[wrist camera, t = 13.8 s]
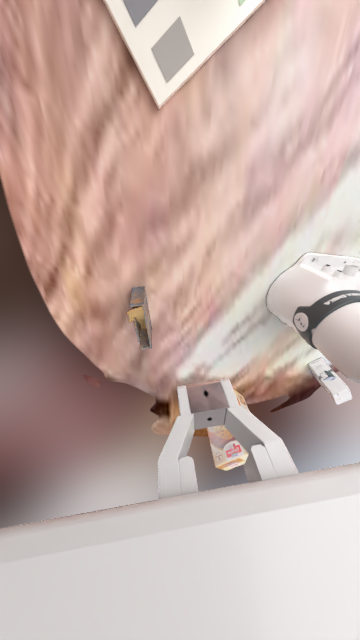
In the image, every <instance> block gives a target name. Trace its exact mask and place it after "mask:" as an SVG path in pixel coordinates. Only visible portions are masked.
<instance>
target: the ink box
mask: <svg viewBox="0 0 360 640" xmlns="http://www.w3.org/2000/svg"><path fill="white" fill-rule="evenodd" d="M308 366H309V368H310V370H311V372H312V374H313V375H314V377H315V378H316V379H317V380H318V382H319V383H320V384H321V385H322V387H323V388H324V389H325V390H326V391H327V393H328V394H329V395H330V396H331V398H332V399H333V400H334V401H335V402H336V404H337V405H338V404H340V403H343V402H345V401H348V400H350V399H352V396H351V393H350V390H349V387H348V386H347V385H346V384H345V383H344V382H343V381H342V380H341V379H340V378H339V377H338V376H337V375H336V373H335V372H334V371H333V370H332V369H331V368H330V367H329V366H328V365H327V363H326V362H325V361H324V360H323V359H322V358H319V359H317V360H315V361H313V362H310V363H308Z"/></svg>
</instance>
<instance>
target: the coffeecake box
mask: <svg viewBox="0 0 360 640" xmlns="http://www.w3.org/2000/svg"><path fill="white" fill-rule="evenodd" d="M233 390H234V393H235V395H236V398H237V400H238V403H239V405H240V406H243V407H244V408H246V409H247V410H248V411H249V409H248V407H247V404H246V402H245V400H244V397H243V395H241V394H240V393H239V392H237V391H236V390H235V389H233ZM207 431H208V435H209V440H210V444H211V449H212V454H213V458H214V462H215V467H217V468H219V469H223V470H226V471H227V470H229V469H232V468H234V467H237V466H239V465H242V464H244V463H245V462H246V459H247V457H248V455H249V454H248V453H247V451H246V450H245V449H244V448H243V447H242V446H241V445H240V443H239V442H238V441H237V440H236V439H235V438H234V437H233V435H232V434H231V433H230V432H229V431H228V430H227V429H226V427H225V426H224V425H221V426H214V427H207Z"/></svg>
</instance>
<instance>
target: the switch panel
mask: <svg viewBox="0 0 360 640" xmlns="http://www.w3.org/2000/svg"><path fill="white" fill-rule="evenodd" d="M265 1H266V0H103V2H104V4H105V6H106V7H107V9H108V11H109V13H110V15H111V17H112V19H113V21H114V23H115V25H116V27H117V29H118V31H119V33H120V35H121V37H122V39H123V41H124V43H125V45H126V47H127V49H128V51H129V53H130V54H131V56H132V58H133V60H134V62H135V64H136V66H137V68H138V70H139V72H140V74H141V76H142V78H143V80H144V82H145V84H146V86H147V88H148V90H149V92H150V94H151V96H152V98H153V100H154V101H155V103H156V105H157V107H158V109H160V108H161V107H162V106H163V105H164V104H165V103H166V102H167V101H168V100H169V99H170V98H171V97H172V96H173V95H174V94H175V93H176V92H177V91H178V90H179V89H180V88H181V87H182V86H183V85H184V84H185V83H186V82H187V81H188V80H189V79H190V78H191V77H192V76H193V75H194V74H195V73H196V72H197V71H198V70H199V69H200V67H201V66H202V65H203V64H204V63H205V62H206V61H207V60H208V59H209V58H210V57H211V56H212V55H213V54H214V53H215V52H216V51H217V50H218V49H219V48H220V47H221V46H222V45H223V44H224V43H225V42H226V41H227V40H228V39H229V38H230V37H231V36H232V35H233V34H234V33H235V32H236V31H237V30H238V29H239V28H240V27H241V26H242V25H243V24H244V23H245V22H246V21H247V20H248V18H249V17H250V16H251V15H252V14H253V13H254V12H255V11H256V10H257V9H258V8H259V7H260V6H261V5H262V4H263V3H264V2H265Z"/></svg>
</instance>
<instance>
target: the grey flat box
mask: <svg viewBox="0 0 360 640" xmlns="http://www.w3.org/2000/svg"><path fill="white" fill-rule="evenodd" d="M138 306H143V307H139V308H138ZM130 307H133V309H132V310H130V311H129V312H127V313H128V315H129V319H130V321H128V322H131V321H133V322H134V325H135V330H136V334H137V338H138V342H140V350H142V349H151V348H152V327H151V321H150V315H149V309H148V303H147V297H146V291H145V287H136V288H132V294H131V300H130ZM127 313H126V314H127ZM140 332H141V336H140Z"/></svg>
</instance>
